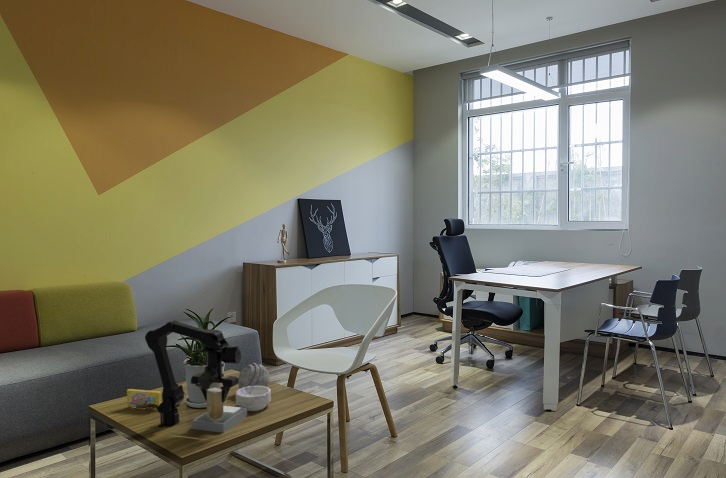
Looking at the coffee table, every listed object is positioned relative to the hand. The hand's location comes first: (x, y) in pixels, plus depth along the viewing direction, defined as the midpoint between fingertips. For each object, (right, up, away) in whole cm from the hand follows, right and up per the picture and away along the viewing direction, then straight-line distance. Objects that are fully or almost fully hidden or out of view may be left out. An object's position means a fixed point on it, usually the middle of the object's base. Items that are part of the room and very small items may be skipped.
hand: (215, 401), depth 211 cm
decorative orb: (+7, -9, +40) cm, 42 cm away
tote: (+1, -10, +4) cm, 11 cm away
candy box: (-38, -11, +23) cm, 45 cm away
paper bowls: (+11, -10, +22) cm, 26 cm away
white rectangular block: (+3, -10, +8) cm, 13 cm away
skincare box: (0, -8, 0) cm, 8 cm away
